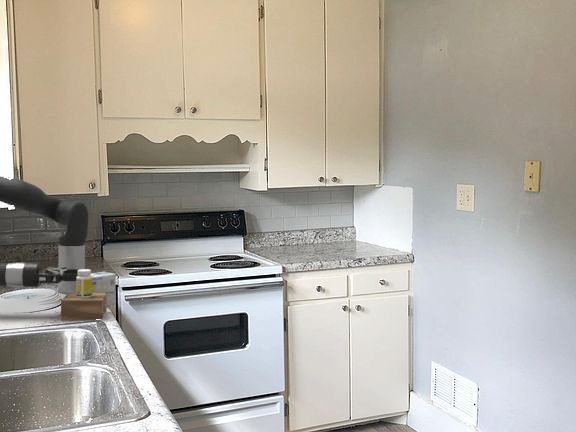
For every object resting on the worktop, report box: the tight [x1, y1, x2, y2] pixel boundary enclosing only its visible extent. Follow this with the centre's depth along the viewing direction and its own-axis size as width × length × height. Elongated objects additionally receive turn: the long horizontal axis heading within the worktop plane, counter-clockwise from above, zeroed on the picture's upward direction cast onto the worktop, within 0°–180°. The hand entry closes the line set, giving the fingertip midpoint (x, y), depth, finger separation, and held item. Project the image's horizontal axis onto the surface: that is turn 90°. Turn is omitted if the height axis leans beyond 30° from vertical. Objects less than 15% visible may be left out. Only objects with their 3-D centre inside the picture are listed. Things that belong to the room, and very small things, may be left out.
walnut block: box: [60, 293, 107, 321], centre depth 204 cm, size 12×12×6 cm
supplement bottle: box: [76, 268, 92, 298], centre depth 204 cm, size 5×5×8 cm
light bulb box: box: [90, 271, 116, 307], centre depth 218 cm, size 11×7×11 cm, turn 141°
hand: (78, 275), depth 203 cm, fingers open, 8 cm apart
